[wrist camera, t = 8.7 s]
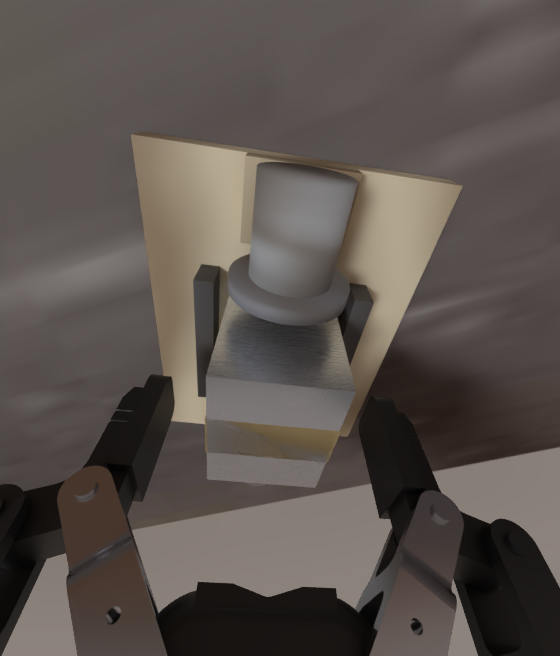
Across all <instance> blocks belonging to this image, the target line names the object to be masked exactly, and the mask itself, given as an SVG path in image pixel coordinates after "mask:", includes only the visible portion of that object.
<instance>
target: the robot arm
mask: <svg viewBox="0 0 560 656" xmlns="http://www.w3.org/2000/svg"><path fill="white" fill-rule="evenodd" d="M174 407H175V399H174V390H173V381H172V377H171V376H162V375H150V376H149V378H148V380H147V382H146V384H145V386H144V388H141V387H134V388H133V389H132V390H130V391H129V392H128V393H127V394H126V395H125V396H124V397H123V398H122V400H121V402H120V403H119V405H118V407H117V409H116V412H115V413H114V414H113V416H112V418H111V421H110V422H109V423H108V425H107V427H106V429H105V431H104V433H103V434H102V436H101V438H100V440H99V442H98V443H97V445H96V447H95V449H94V451H93V453H92V454H91V456H90V458H89V460H88V461H87V463H86V464H85V466H84V467H83V468H82V469H80V470H78V471H76V472H75V473H73V474H72V475H71V476H70V477H69V478H68V479H67V480H65V481H63V482H60V483H57V484H54V485H50V486H45V487H41V488H37V489H32V490H28V491H24V492H23V490H22V489H21V488H20V487H18V486H16V485H13V484H3V485H0V656H1V655H2V653H3V651H4V649H5V647H6V645H7V642H8V640H9V638H10V636H11V634H12V632H13V630H14V628H15V625H16V623H17V621H18V619H19V617H20V615H21V612H22V610H23V608H24V606H25V604H26V602H27V600H28V598H29V595H30V593H31V591H32V589H33V587H34V585H35V583H36V580H37V578H38V576H39V574H40V572H41V570H42V568H43V565H44V563H45V561H46V559H47V558H51V557H54V556H57V555H61V554H64V553H66V555H67V561H68V566H69V574H68V576H67V580H66V582H67V583H66V584H67V595H68V600H69V607H70V613H71V619H72V625H73V631H74V638H75V643H76V649H77V655H78V656H447V655H448V650H449V645H450V638H451V634H452V628H453V623H454V618H455V613H456V605H457V600H456V596H455V595H454V594H453V593H452V590H451V586H452V581H453V579H454V582H455V584H456V588H457V591H458V594H459V597H460V600H461V603H462V606H463V609H464V613H465V616H466V619H467V622H468V625H469V628H470V631H471V634H472V637H473V641H474V644H475V647H476V650H477V653H478V656H560V588H559V586H558V584H557V582H556V580H555V578H554V576H553V575H552V573H551V571H550V569H549V567H548V565H547V563H546V561H545V560H544V558H543V556H542V554H541V552H540V550H539V548H538V547H537V545H536V543H535V542H534V540H533V539H532V538H531V537H530V535H529V534H528V533H527V532H526V531H525V530H524V529H522V528H521V527H520V526H518V525H517V524H515V523H513V522H512V521H509V520H506V519H497V520H495V521H494V522H492V523H491V524H489V523H486V522H484V521H482V520H479V519H477V518H474V517H472V516H469V515H467V514H465V513H463V512H461V511H459V509H458V507H457V506H456V505H455V504H454V503H453V501H452V500H450V499H449V498H448V497H447V496H445V495H444V494H442V493H441V491H440V489H439V487H438V485H437V482H436V480H435V478H434V475H433V473H432V470H431V468H430V465H429V463H428V460H427V458H426V456H425V453H424V451H423V450H422V446H421V444H420V441H419V439H418V438H417V437H418V436H417V434H416V431H415V429H414V427H413V424H412V423H411V422H410V421H409V419H408V418H407V417H406V416H405V415H404V413H399V412H397V410H396V408H395V405H394V403H393V401H392V399H390V398H381V397H371V398H370V400H369V402H368V404H367V406H366V408H365V410H364V412H363V414H362V417H361V419H360V422H359V434H360V438H361V442H362V447H363V451H364V455H365V459H366V463H367V468H368V472H369V476H370V480H371V484H372V489H373V493H374V497H375V501H376V505H377V509H378V514H379V518H382V519H390V520H391V523H392V529H391V531H390V533H389V535H388V538H387V540H386V543H385V545H384V548H383V550H382V553H381V555H380V558H379V560H378V563H377V565H376V567H375V570H374V572H373V575H372V577H371V579H370V582H369V583H368V585H367V587H366V588H365V590H364V592H363V593H362V596H361V597H360V600H359V602H358V604H357V607H356V609H354V608H353V607H351V606H350V605H349V604H347V603H346V602H344V601H342V600H341V599H338V598H337V594H336V588H316V587H301V588H298V589H294V590H291V591H288V592H285V593H282V594H278V595H275V596H272V597H265V596H262V595H260V594H257V593H255V592H252V591H250V590H247V589H245V588H242V587H240V586H237V585H235V584H230V583H209V582H198V585H197V591H194V592H190V593H188V594H186V595H183V596H181V597H179V598H178V599H176V600H174V601H173V602H171V603H170V604H169V605H168V606H166V607H165V608H164V609H163V610H162V611H161V612H160V613H159V612H158V609H157V606H156V603H155V600H154V597H153V594H152V591H151V588H150V585H149V582H148V579H147V576H146V573H145V570H144V567H143V564H142V561H141V558H140V555H139V551H138V548H137V545H136V542H135V539H134V536H133V533H132V530H131V526H130V523H129V520H128V517H127V515H128V512H129V509H130V507H131V504H132V501H141V502H142V501H143V499H144V496H145V493H146V490H147V487H148V484H149V482H150V479H151V476H152V473H153V470H154V468H155V465H156V462H157V459H158V456H159V453H160V451H161V448H162V445H163V442H164V439H165V436H166V434H167V431H168V428H169V425H170V422H171V419H172V417H173V413H174Z"/></svg>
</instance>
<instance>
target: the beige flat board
mask: <svg viewBox="0 0 560 656" xmlns="http://www.w3.org/2000/svg"><path fill="white" fill-rule="evenodd" d="M131 139H132V146H133V153H134V161H135V168H136V175H137V183H138V190H139V198H140V205H141V212H142V220H143V227H144V234H145V242H146V249H147V257H148V264H149V271H150V279H151V286H152V293H153V301H154V308H155V315H156V323H157V330H158V338H159V345H160V352H161V360H162V367H163V374H164V376H171V377H172V381H173V390H174V399H175V407H174V413H173V417H172V419H171V421H178V422H190V423H201V424H205V416H206V374H207V371H208V367H209V364H210V360H211V357H212V353H213V350H214V346H215V343H216V339H217V336H218V333H219V329H220V326H221V322H222V319H223V315H224V312H225V308H226V305H227V301H228V298H229V295H230V297H231V298H232V300H233V301H234V302H235V303H236V304H237V305H238V306H239V307H240V308H242V309H243V310H245V311H246V312H248V313H250V314H252V315H254V316H256V317H258V318H261V319H264V320H267V321H270V322H274V323H278V324H284V325H293V326H309V325H317V324H322V323H325V322H328V321H331V320H333V319H335V318H336V317H337V318H338V322H339V326H340V330H341V334H342V338H343V342H344V346H345V350H346V354H347V358H348V362H349V366H350V370H351V374H352V377H353V381H354V385H355V389H356V394H355V396H354V398H353V401H352V403H351V405H350V408H349V410H348V412H347V415H346V417H345V419H344V422H343V424H342V426H341V429H340V430H341V432H340V434H339V436H345V437H348V435H349V433H350V431H351V428H352V426H353V424H354V422H355V420H356V418H357V415H358V413H359V411H360V409H361V407H362V404H363V402H364V400H365V398H366V396H367V394H368V391H369V389H370V387H371V385H372V383H373V381H374V378H375V376H376V374H377V372H378V370H379V367H380V365H381V363H382V361H383V359H384V357H385V354H386V352H387V350H388V348H389V346H390V344H391V341H392V339H393V337H394V335H395V333H396V330H397V328H398V326H399V324H400V322H401V320H402V317H403V315H404V313H405V311H406V309H407V307H408V304H409V302H410V300H411V298H412V296H413V293H414V291H415V289H416V287H417V285H418V283H419V280H420V278H421V276H422V274H423V272H424V270H425V267H426V265H427V263H428V261H429V259H430V256H431V254H432V252H433V250H434V248H435V246H436V243H437V241H438V239H439V237H440V235H441V233H442V230H443V228H444V226H445V224H446V222H447V219H448V217H449V215H450V213H451V211H452V209H453V206H454V204H455V202H456V200H457V198H458V196H459V193H460V191H461V189H462V187H463V186H462V185H459V184H457V183H455V182H453V181H451V180H448V179H441V178H435V177H429V176H422V175H416V174H409V173H403V172H397V171H390V170H384V169H378V168H371V167H365V166H358V165H352V164H346V163H339V162H333V161H327V160H320V159H314V158H307V157H301V156H295V155H288V154H282V153H276V152H269V151H263V150H256V149H250V148H244V147H237V146H231V145H224V144H218V143H212V142H205V141H199V140H193V139H186V138H180V137H173V136H167V135H161V134H154V133H148V132H141V133H135V134H131ZM244 483H246V484H248V485H251V486H256V487H261V486H266V485H269V484H262V483H249V482H244Z"/></svg>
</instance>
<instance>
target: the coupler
mask: <svg viewBox="0 0 560 656" xmlns="http://www.w3.org/2000/svg"><path fill="white" fill-rule="evenodd" d="M355 394H356V389H355V385H354V381H353V377H352V374H351V370H350V366H349V362H348V358H347V354H346V350H345V346H344V342H343V338H342V334H341V330H340V326H339V322H338V318H337V317H336V318H335V319H333V320H331V321H328V322H325V323H322V324H317V325H309V326H293V325H284V324H278V323H274V322H270V321H267V320H264V319H261V318H258V317H256V316H254V315H252V314H250V313H248V312H246V311H245V310H243V309H242V308H240V307H239V306H238V305H237V304H236V303H235V302H234V301H233V300H232V298H231V297H230V295H229V298H228V301H227V305H226V308H225V312H224V315H223V319H222V322H221V326H220V329H219V333H218V336H217V339H216V343H215V346H214V350H213V353H212V357H211V360H210V364H209V367H208V371H207V374H206V416H205V452H207V479H211V480H224V481H237V482H249V483H262V484H275V485H288V486H300V487H313V488H315V487H316V485H317V482H318V480H319V478H320V475H321V473H322V471H323V468H324V466H325V464H326V462H328V460H329V458H330V455H331V453H332V451H333V448H334V446H335V444H336V441H337V439H338V437H339V434H340V432H341V430H340V429H341V426H342V424H343V422H344V419H345V417H346V415H347V412H348V410H349V408H350V405H351V403H352V401H353V398H354V396H355Z"/></svg>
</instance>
